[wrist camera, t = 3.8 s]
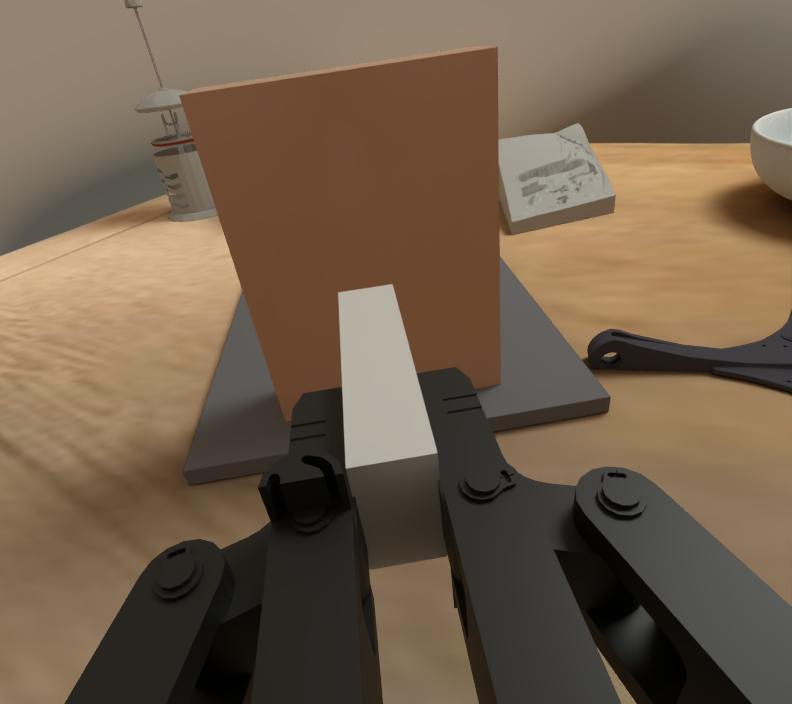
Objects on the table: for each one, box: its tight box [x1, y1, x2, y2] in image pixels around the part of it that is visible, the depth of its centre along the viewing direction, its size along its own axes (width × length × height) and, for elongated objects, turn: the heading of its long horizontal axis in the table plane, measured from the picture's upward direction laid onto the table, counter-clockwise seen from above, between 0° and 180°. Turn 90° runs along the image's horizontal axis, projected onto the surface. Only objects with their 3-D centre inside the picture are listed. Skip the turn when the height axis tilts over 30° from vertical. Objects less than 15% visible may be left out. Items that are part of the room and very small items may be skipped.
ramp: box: [498, 124, 616, 235], centre depth 57 cm, size 28×16×5 cm, turn 154°
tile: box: [179, 46, 501, 422], centre depth 24 cm, size 12×3×16 cm, turn 97°
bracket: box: [587, 312, 792, 393], centre depth 27 cm, size 14×15×3 cm
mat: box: [183, 257, 610, 485], centre depth 36 cm, size 22×26×1 cm
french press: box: [125, 0, 218, 222], centre depth 64 cm, size 10×12×25 cm
